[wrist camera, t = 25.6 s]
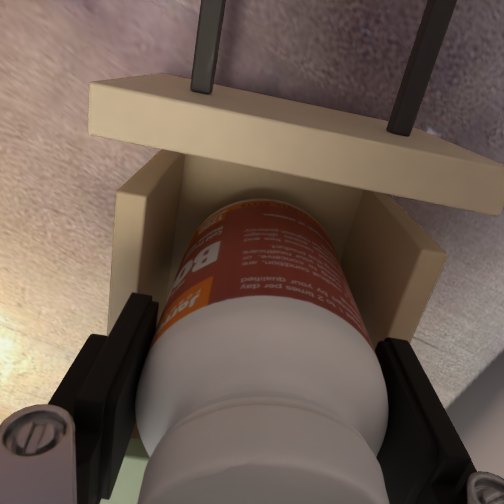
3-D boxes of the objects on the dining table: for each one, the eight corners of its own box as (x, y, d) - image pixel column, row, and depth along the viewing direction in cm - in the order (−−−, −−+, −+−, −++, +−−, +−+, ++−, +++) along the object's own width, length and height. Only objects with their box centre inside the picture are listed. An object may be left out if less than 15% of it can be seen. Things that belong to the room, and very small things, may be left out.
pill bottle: (203, 175, 16) (105, 382, 6) (356, 216, 16) (517, 469, 6) (172, 310, 18) (68, 619, 8) (306, 341, 19) (363, 664, 9)
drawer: (180, -127, 14) (100, -324, 7) (474, -54, 15) (679, -161, 8) (135, 330, 22) (76, 461, 14) (329, 362, 22) (364, 503, 15)
